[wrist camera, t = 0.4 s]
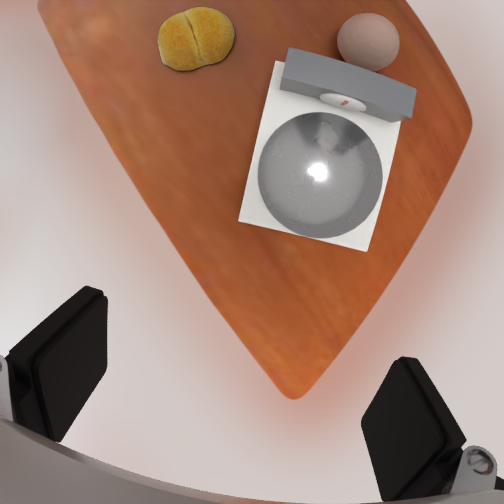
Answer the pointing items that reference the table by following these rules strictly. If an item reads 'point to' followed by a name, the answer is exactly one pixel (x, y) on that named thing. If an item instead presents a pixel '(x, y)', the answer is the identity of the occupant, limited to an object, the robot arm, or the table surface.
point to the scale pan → (320, 175)
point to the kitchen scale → (336, 102)
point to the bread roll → (195, 38)
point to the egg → (368, 41)
